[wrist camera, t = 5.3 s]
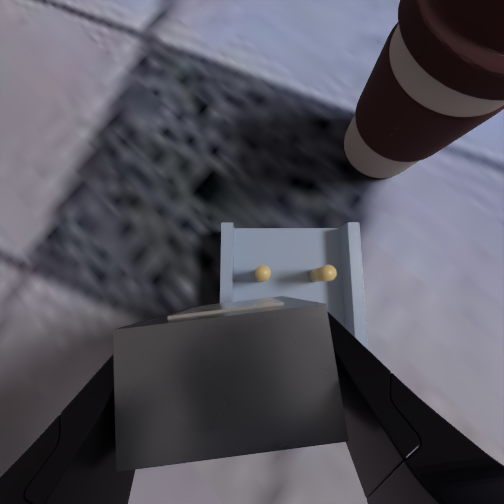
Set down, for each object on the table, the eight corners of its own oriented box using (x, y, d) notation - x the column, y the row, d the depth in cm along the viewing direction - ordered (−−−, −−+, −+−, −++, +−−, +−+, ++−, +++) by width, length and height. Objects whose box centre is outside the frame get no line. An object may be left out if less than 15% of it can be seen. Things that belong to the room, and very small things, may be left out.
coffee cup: (332, 101, 26) (438, -148, 11) (424, 110, 26) (655, -131, 11) (326, 186, 24) (440, 30, 10) (423, 197, 24) (692, 53, 9)
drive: (289, 348, 16) (348, 441, 6) (200, 359, 16) (116, 472, 6) (282, 294, 17) (325, 300, 7) (196, 304, 17) (112, 326, 7)
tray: (356, 405, 21) (388, 440, 16) (222, 405, 21) (213, 440, 16) (345, 230, 24) (370, 215, 19) (225, 231, 24) (218, 215, 19)
